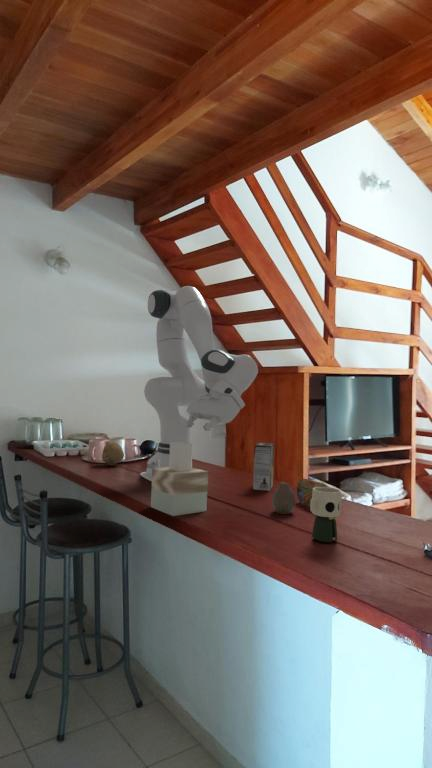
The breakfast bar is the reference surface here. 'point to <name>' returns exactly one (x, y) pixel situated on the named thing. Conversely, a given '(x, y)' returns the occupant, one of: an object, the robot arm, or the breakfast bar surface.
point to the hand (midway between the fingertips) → (196, 427)
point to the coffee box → (263, 466)
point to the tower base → (178, 502)
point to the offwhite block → (180, 456)
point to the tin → (307, 490)
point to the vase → (283, 499)
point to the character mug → (325, 512)
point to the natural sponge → (112, 453)
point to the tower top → (179, 481)
